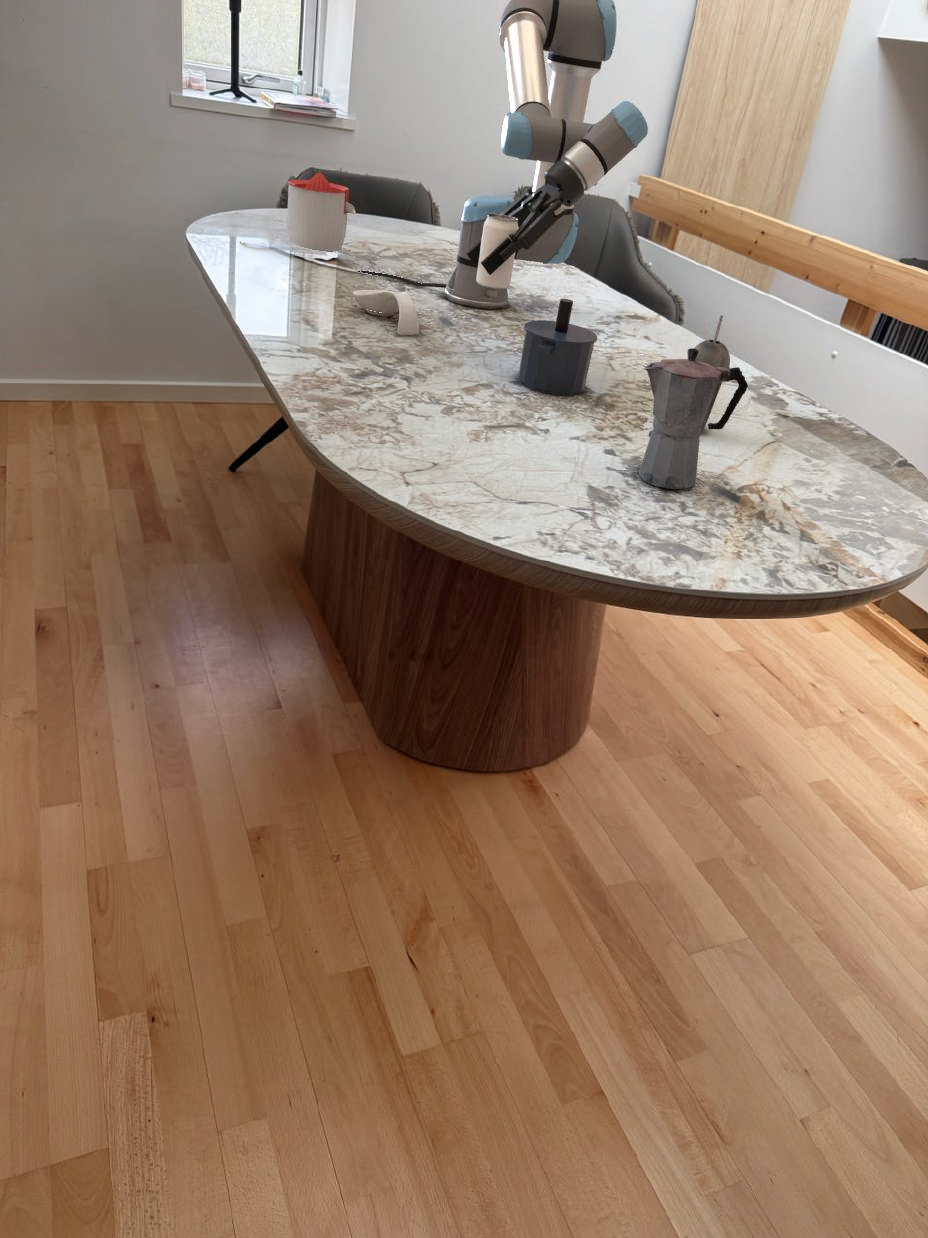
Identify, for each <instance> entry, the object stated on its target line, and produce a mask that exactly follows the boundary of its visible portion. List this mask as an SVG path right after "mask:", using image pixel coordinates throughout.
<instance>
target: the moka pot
mask: <svg viewBox="0 0 928 1238" xmlns="http://www.w3.org/2000/svg"><path fill="white" fill-rule="evenodd" d="M694 348H695V347H694ZM694 348H692V347H691V348H688V349H687V358H670V359H669V358H668V359H666V358H665V359H661V360H660V361H656V362H650V364H648V365H646V366H645V367H644V368H643V370H644V371H646V372H647V377H648V380H649V383H650V388H651V392H652V395H653V403H652V404H653V406H652V407H653V408H652V415H653V423H652V430H650V431H649V432H648V433H647V434H648V435H647V436H648V437H649V440H648V441H647V446H646V449H645V452H644V456H643V458H642V461H641V464H640V468H639V470H638V476H639V478H640V479H641V480H642V481H643V482H646V483H647V484H649V485H651V486H653V487H658V488H661V489H668V490H686V489H689V488H692V487H693V486H695V485H696V482H697V475H698V474H697V473H698V460H699V451H700V450H699V449H700V441H701V440H700V439H701V433H702V432H701V431H702V427H703V423H704V421H705V419H706V416H707V414H708V410H709V408H710V405H711V402H712V399H713V396H714V393H715V391H716V388H717V385H718V383H719V382H720V381H723V382H725V383H727V382H730V381H735V382H737V385H738V387H737V388H736V389H735V391H734V393H733V396H732V397H731V399H730V401H729V403H728V405H727V406H726V409H725V410H724V413H723V414H722V416H721V417H720V419H719V420H718V421H717V422H709V423H707V429H708V430H723V429H724V427H725V426H726V425H727V423H728V421H729V420H730V418H731V416H732V414H733V413H734V411H735V409H736V407H737V406H738V405H739V403H740V401H741V399H742V398H743V395H744V394H746V392H747V389H748V388H749V384H748V382H747V380H746V377H745V375H743V371H742V370H741V368H740V367H739V366H738V367H730V368H729V369H728V368H724V367H717V368H715V367H713V366H711V365H709V364H706V363H703V362H699V361H696V357H697V355H698V352H699V351H698V350H696V349H694Z"/></svg>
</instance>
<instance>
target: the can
mask: <svg viewBox="0 0 928 1238" xmlns="http://www.w3.org/2000/svg"><path fill="white" fill-rule="evenodd" d="M487 216H488V218H487V219H486V221H485V223H484V227H483V234H482V241H481V248H480V255H479V263H478V270H477V278H476V281H477V283H478V284H479V285H481V286H483V287H487V288H492V289H507V290H508V288H510V287H511V281H512V276H513V269H514V263H515V259H514V257H515V253H514V254H513V255H512V256H510V257H509V258H508V259H507V260H506V261H505V262H504V263H503V264H502V265H501V266H500V267H499V268H497V269H496V270H495V271H494V272H493V273H492V274H491V275H489V274H488V273H487V271H486V270H485V268H484V267H483V265H482V264H481V262H482V261H483V260H484V259H485V258H486V257H487V256H488V255H489V254H490V253H492V252H493V251H494V250H495V249H496V248H497V247H498V246H499V245H500V244H501V243H502V242H503V241H504V240H506V239H507V238H509V239H510V240H511V238H510V237H509V234H515V233H516V231H517V230H518V229H519V227H518V224H517V221H518V219H517V218H515V217H511V216H507V215H501V214H488V215H487ZM511 241H512V240H511Z"/></svg>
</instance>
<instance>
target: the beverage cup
mask: <svg viewBox="0 0 928 1238" xmlns="http://www.w3.org/2000/svg"><path fill="white" fill-rule="evenodd" d="M723 318H724V315H722V314H720V315H719V319H718V322H717V326H716V329H715V332H714V337H713V339H705V340H703V341H701V342H700V343H698V344H696V345H695V347H694V349H696V350H698V351H699V352H698V355H697V357H696V361H699V362H703V363H706V364H709V365H711V366H713V367H715V368H717V367H724V368H728V369H729V368H731V367H730V366H731V354H730V352H729V349H728V347H727V346H726V345H725V344H724V343H723V342H721V341H720V340H718V338H719V337H718V336H719V334H720V330H721V326H722V324H723V323H722V322H723ZM723 382H724V381H720V382H719V383H718V385H717V388H716V391H715V393H714V396H713V399H712V402H711V405H710V408H709V410H708V414H707V416H706V419H705V421H704V423H703V427H702V431H701V433H703V432H704V429H705V428H706V425H707V424H708V421H709V418H710V415H711V412H712V410H713V407H714V405H715V403H716V400H717V397H718V395H719V392H720V389H721V387H722V384H723Z"/></svg>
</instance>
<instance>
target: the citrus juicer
mask: <svg viewBox="0 0 928 1238" xmlns="http://www.w3.org/2000/svg"><path fill="white" fill-rule="evenodd" d="M287 184H288V191H287V192H288V193H287V219H286V221H287V233H288V239H289V242H290V241H292V242H293V243H294V244H296V245H299V246H301V247H304V248H308V249H312V250H319V251H327V252H333V251H339V250H341V251H342V248H343V245H344V242H345V238H346V234H347V233H346V232H347V227H348V213H350V214H353V215H356V213H357V212H356V209H355V206H354V205H353V204H351V203H350V202H349V200H350V195H349V194H350V188H348V187H347V186H344V185H340V184H337V183H333V182H329V181H328V180H327V178H326V176H325V175H324V174H323V173H322V172H320V171H319V172H317V173H316V174H314V175H313V176H312V178H310V179H290V180H287Z"/></svg>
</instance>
